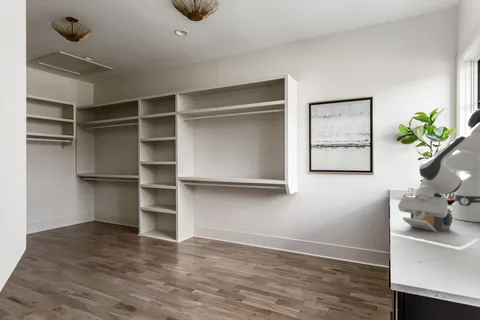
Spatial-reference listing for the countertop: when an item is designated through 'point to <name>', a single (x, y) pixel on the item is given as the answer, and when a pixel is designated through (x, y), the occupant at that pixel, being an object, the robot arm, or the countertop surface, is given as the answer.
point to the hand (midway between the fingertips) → (416, 220)
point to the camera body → (438, 221)
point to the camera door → (419, 224)
